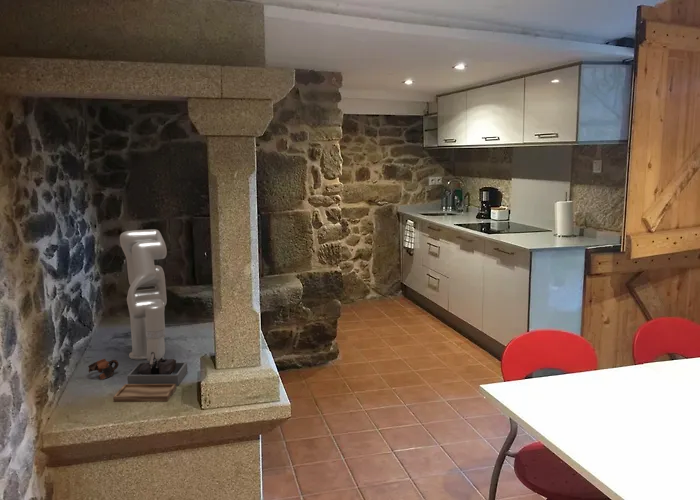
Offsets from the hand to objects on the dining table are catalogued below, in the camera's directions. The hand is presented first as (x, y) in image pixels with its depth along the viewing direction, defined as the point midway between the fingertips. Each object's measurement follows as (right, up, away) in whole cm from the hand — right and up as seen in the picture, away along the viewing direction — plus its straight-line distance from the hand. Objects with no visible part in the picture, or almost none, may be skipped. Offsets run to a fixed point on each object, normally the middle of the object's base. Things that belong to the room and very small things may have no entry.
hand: (157, 373), depth 236 cm
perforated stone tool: (0, -1, 0) cm, 1 cm away
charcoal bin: (0, -2, 0) cm, 2 cm away
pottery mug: (-24, -2, +4) cm, 25 cm away
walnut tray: (+1, -5, -16) cm, 17 cm away
